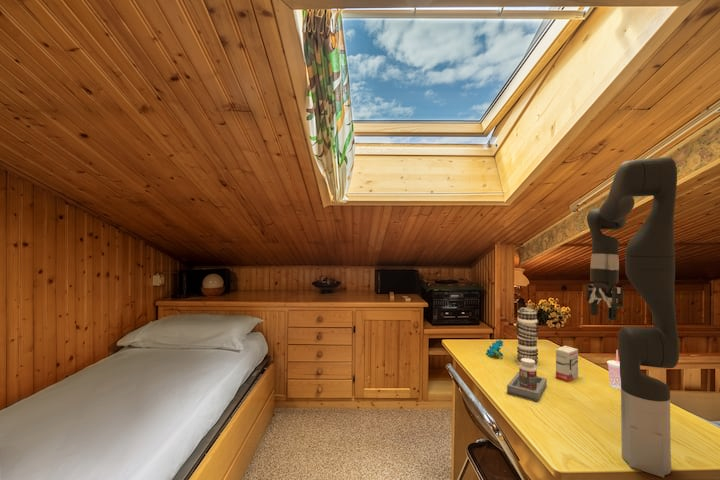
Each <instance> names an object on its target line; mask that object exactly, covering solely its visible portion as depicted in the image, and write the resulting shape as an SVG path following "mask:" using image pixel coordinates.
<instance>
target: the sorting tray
mask: <svg viewBox="0 0 720 480" xmlns="http://www.w3.org/2000/svg"><path fill="white" fill-rule="evenodd" d="M547 380H548V379H547V378H546V377H544V376H543V377H541V376H537V388H536V389H535V390H528V389H525V388H522V387H521V386H520V384H519V371H517V373H516V374H515V375H514V376H513V377H512V379H511V380H510V381H509V382H508V384H507V385H506V394H508V395H511V396H513V397H514V396H515V397H518V398H521V399H526V400H530V401H532V402H536V403H539V401H540V400H541V398H542V396H543V394H544V392H545V390H546V389H547V386H548V385H547V383H548V381H547Z"/></svg>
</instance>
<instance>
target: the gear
mask: <svg viewBox="0 0 720 480" xmlns="http://www.w3.org/2000/svg"><path fill="white" fill-rule="evenodd" d="M503 346H504V341H503V340H501V339H499V340H498V339H497V340H496V341H495V342H492V343H491V345H489V346H488V349H487V350H486V353H485V354H486V355H487V356H488V357H490V356H492V357H493V356H494V355H496V356H497V357H499V358H500V359H501V360H503V359H504V358H503V356H504V354H503V352H501V351H500V350H501V349H502V348H501V347H503Z"/></svg>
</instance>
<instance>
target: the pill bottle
mask: <svg viewBox="0 0 720 480" xmlns="http://www.w3.org/2000/svg"><path fill="white" fill-rule="evenodd" d="M521 363H522V364H521V365H519V368H518V369H519V371H518V372H519V384H520V386H521V387H522V388H525V389H528V390H535V389H536V388H537V375H538V374H537V367H535V366H534V365H535V361H534V360H532V359H528V358H522V359H521Z"/></svg>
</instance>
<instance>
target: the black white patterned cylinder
mask: <svg viewBox="0 0 720 480" xmlns="http://www.w3.org/2000/svg"><path fill="white" fill-rule="evenodd" d="M537 315H538V312H537V311H536V310H535V308H531V307H526V306H524V307H520V308H519V310H517V319H516V321H515V323H516V324H515V326H516V337H517V347H516V349H517V350H516V351H517V354H516V360H517V362H516V363H517V365H519V366H520V365H521V364H522V363H521V359H522V358H528V359H532V360H534V361H535V365H534V366H535V367H536V368H538V367H539V357H538V356H539V353H538V352H539V349H538V345H537V344H538V342H537V341H538V340H539V334H537V333H539V332H540V331H539V330H538V329H539V324H540V322H538V319H537V317H538V316H537Z"/></svg>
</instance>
